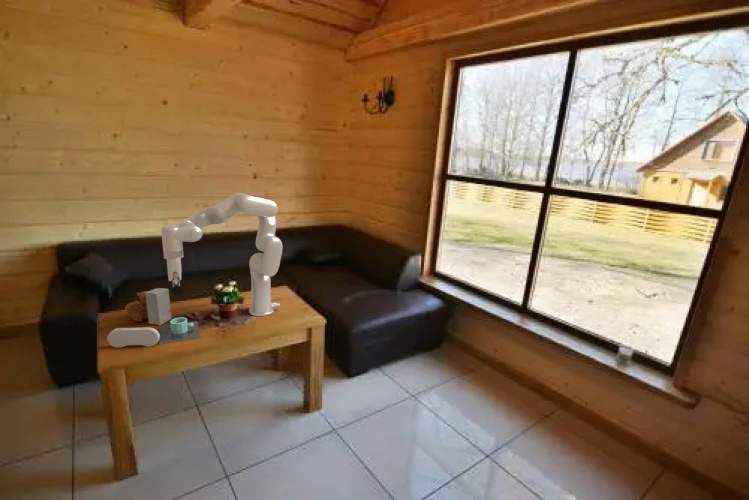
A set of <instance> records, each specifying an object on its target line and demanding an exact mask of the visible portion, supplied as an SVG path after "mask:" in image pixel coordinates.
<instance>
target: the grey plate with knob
mask: <svg viewBox="0 0 749 500" xmlns="http://www.w3.org/2000/svg"><path fill="white" fill-rule="evenodd" d="M181 322H182V321H178V322H175V323H181ZM187 323H193V327H189V328H188V331H187V332H185V333H182V334H173V333H171V325H170V324H166V325H159V331H158V332H159V334H160V339H159V341H158V344H159V345H162V344H168V343H175V342H182V341H188V340H193V339H194V340H195V339H200V338H201V334H200V329H199V327H200V326H199V322H198V320H194V321H187Z"/></svg>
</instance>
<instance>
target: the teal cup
mask: <svg viewBox="0 0 749 500" xmlns="http://www.w3.org/2000/svg"><path fill="white" fill-rule="evenodd" d="M169 321H170V324H169V325H171V333H173V334H182V333H185V332H187V331H188V328H189V327H193V323H187V322H188V318H186V317H181V316H179V317H176V318H171V319H170V320H169ZM178 321H182V322H181V323H175V322H178Z"/></svg>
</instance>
